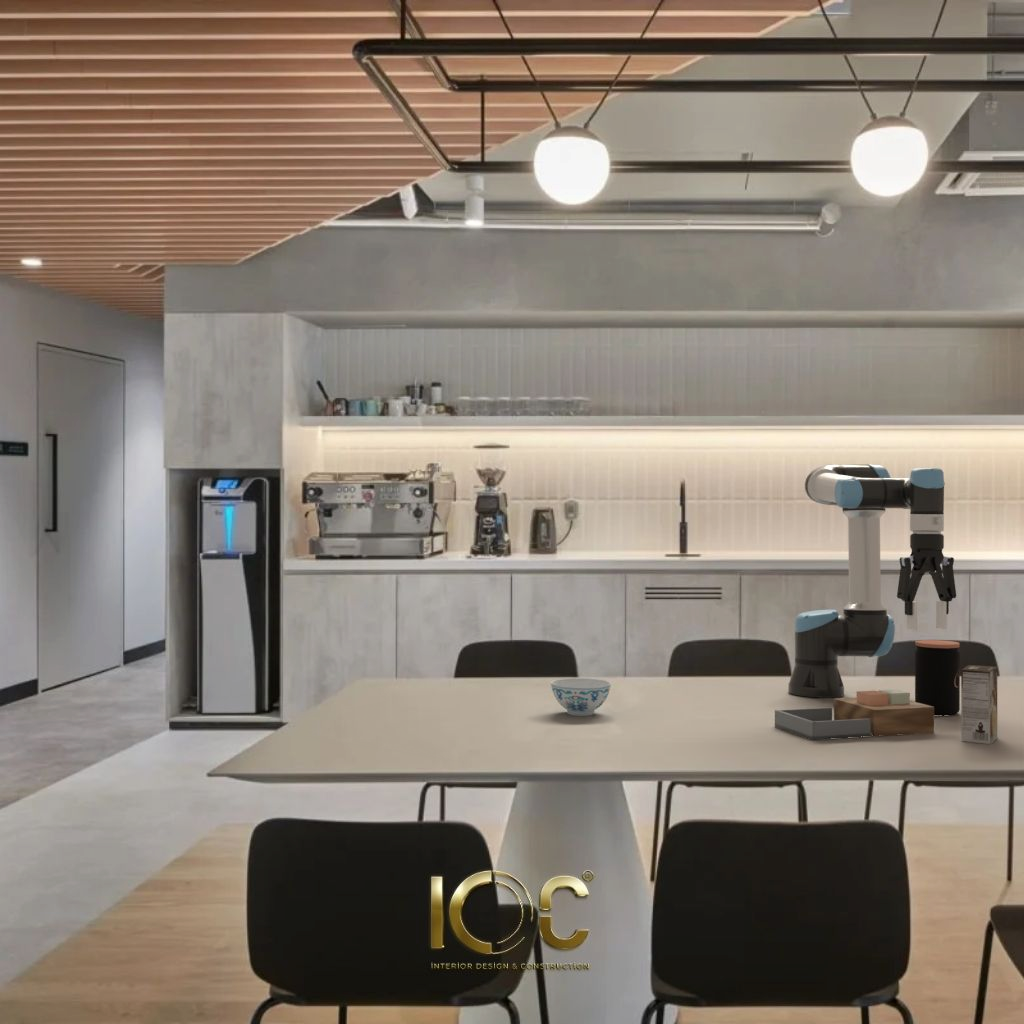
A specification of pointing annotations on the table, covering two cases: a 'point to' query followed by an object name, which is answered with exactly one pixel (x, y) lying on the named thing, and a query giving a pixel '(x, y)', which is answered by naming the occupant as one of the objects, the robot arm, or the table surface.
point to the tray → (820, 724)
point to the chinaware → (580, 694)
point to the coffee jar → (938, 675)
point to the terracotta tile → (872, 697)
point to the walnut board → (888, 716)
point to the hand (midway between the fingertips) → (926, 628)
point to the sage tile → (897, 696)
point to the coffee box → (979, 704)
